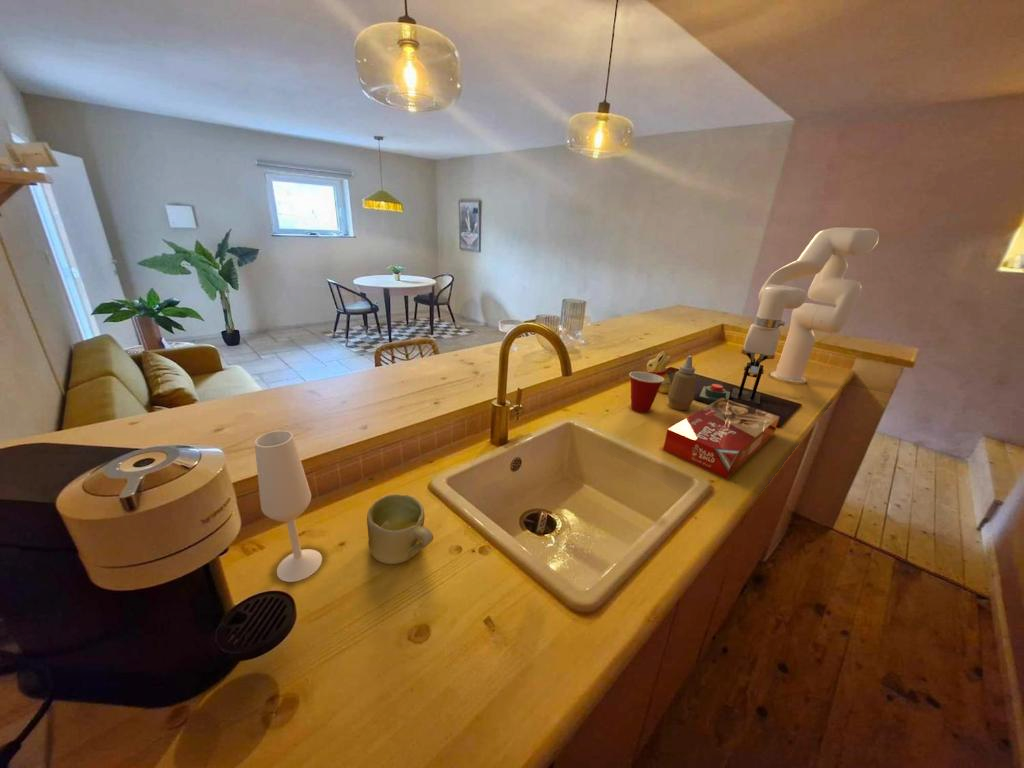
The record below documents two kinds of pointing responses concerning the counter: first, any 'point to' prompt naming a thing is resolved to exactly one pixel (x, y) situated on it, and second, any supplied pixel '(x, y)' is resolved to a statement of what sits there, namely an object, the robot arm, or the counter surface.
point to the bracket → (747, 395)
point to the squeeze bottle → (683, 386)
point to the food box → (721, 436)
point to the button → (716, 387)
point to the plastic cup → (644, 390)
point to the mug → (397, 529)
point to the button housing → (713, 394)
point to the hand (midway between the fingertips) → (752, 370)
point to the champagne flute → (285, 497)
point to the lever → (753, 371)
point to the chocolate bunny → (660, 370)
